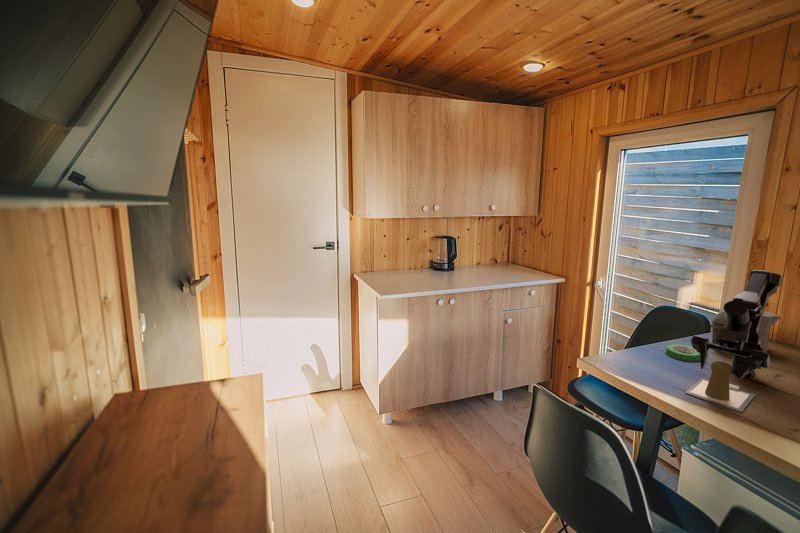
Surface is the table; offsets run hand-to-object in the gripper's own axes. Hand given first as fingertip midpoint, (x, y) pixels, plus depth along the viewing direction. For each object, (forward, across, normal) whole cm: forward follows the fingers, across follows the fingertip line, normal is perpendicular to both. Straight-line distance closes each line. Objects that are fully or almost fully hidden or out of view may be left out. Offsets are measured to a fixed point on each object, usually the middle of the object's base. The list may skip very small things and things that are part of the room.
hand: (719, 373), depth 118 cm
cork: (+5, 0, +7) cm, 8 cm away
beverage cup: (-28, -11, +40) cm, 50 cm away
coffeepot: (-37, -4, +50) cm, 62 cm away
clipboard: (+3, 0, +9) cm, 10 cm away
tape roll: (-15, -18, +28) cm, 36 cm away
